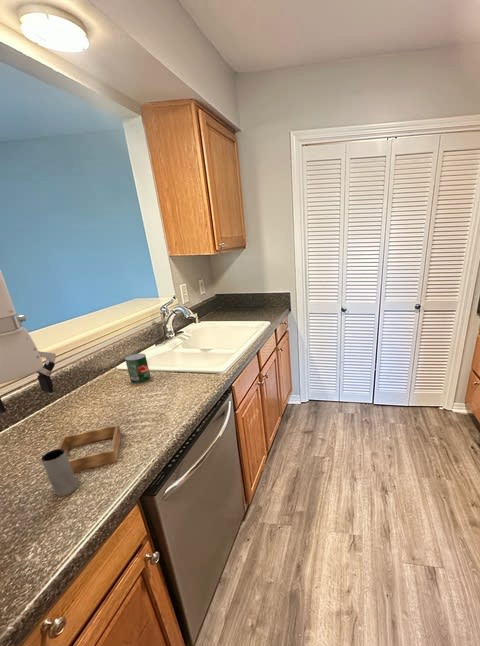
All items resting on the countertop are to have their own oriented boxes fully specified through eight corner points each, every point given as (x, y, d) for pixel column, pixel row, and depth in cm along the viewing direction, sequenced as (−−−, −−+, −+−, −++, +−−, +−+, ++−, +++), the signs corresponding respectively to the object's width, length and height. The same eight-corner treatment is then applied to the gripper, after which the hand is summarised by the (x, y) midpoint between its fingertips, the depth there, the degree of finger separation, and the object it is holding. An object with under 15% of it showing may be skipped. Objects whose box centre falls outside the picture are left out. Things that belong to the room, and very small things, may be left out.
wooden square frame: (53, 477, 83) (48, 466, 81) (66, 446, 95) (62, 436, 94) (117, 461, 88) (113, 450, 87) (121, 433, 100) (118, 424, 99)
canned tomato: (132, 378, 141) (126, 354, 137) (152, 375, 143) (146, 352, 139) (129, 385, 134) (123, 361, 130) (150, 382, 136) (144, 358, 132)
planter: (72, 494, 77) (58, 459, 73) (52, 497, 76) (36, 462, 72) (81, 481, 81) (68, 447, 77) (61, 484, 80) (47, 450, 76)
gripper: (31, 315, 74) (54, 383, 81) (-72, 336, 59) (-33, 416, 66) (52, 317, 71) (74, 387, 78) (-50, 339, 57) (-12, 423, 63)
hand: (25, 400), depth 72 cm, fingers open, 9 cm apart
